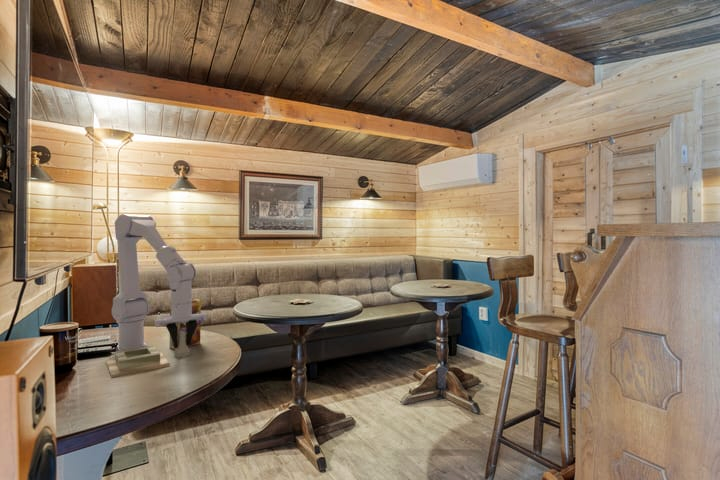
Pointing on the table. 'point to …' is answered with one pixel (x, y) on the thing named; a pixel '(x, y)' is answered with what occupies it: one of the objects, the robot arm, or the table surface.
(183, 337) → the rook chess piece
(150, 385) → the table surface
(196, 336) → the candy box
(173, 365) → the table surface
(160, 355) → the socket stand
